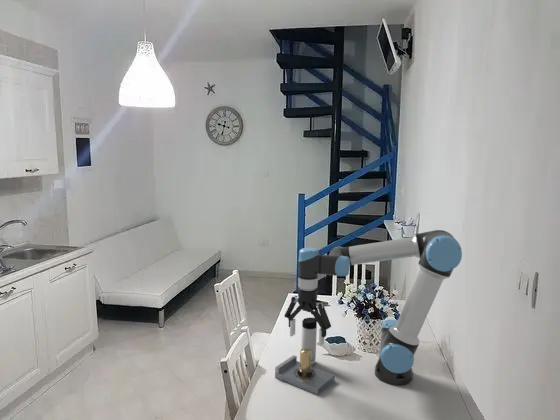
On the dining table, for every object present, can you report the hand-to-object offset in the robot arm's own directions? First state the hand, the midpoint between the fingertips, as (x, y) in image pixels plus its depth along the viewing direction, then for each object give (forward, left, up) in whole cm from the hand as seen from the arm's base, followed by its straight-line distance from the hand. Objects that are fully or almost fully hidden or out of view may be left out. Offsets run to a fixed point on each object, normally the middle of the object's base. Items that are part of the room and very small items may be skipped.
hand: (306, 339), depth 169 cm
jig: (0, 0, -17) cm, 17 cm away
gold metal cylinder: (0, 0, -17) cm, 17 cm away
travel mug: (+6, -12, -17) cm, 22 cm away
